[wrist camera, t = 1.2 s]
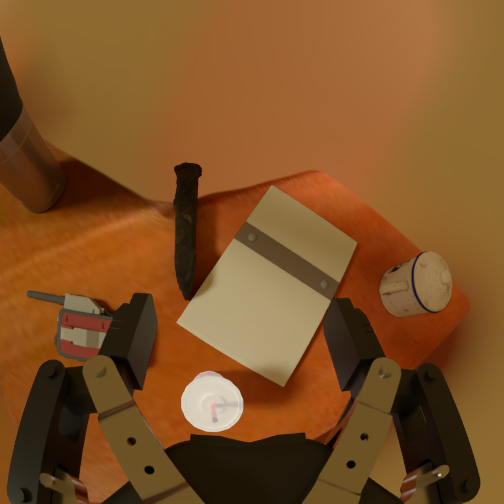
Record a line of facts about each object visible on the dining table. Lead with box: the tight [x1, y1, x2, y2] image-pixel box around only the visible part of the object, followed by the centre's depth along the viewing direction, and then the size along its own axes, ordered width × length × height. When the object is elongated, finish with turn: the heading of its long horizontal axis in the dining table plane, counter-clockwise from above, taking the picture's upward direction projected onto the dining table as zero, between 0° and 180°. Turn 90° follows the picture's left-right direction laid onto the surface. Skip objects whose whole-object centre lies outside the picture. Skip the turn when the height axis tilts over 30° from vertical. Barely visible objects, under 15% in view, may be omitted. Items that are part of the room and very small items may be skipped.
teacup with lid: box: [379, 251, 452, 317], centre depth 35 cm, size 12×9×12 cm
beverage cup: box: [181, 371, 243, 432], centre depth 25 cm, size 6×6×14 cm
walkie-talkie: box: [27, 290, 114, 362], centre depth 29 cm, size 9×4×20 cm
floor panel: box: [177, 185, 357, 387], centre depth 37 cm, size 16×24×2 cm, turn 149°
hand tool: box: [173, 162, 202, 300], centre depth 35 cm, size 19×4×5 cm, turn 1°
